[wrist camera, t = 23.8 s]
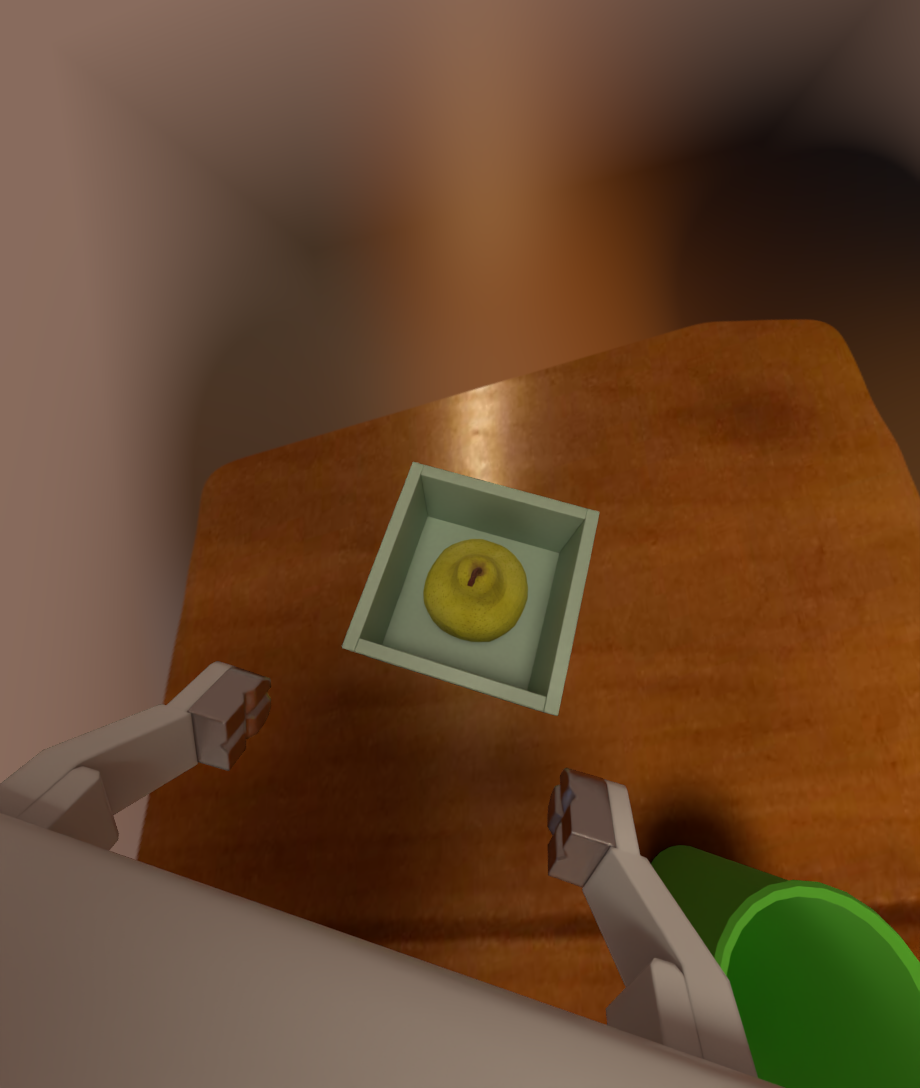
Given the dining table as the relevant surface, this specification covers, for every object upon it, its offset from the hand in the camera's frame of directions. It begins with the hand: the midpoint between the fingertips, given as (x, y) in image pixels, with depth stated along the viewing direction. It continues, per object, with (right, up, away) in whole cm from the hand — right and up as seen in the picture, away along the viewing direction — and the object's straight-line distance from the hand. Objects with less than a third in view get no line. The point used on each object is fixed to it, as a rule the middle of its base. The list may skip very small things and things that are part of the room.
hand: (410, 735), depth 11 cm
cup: (+16, -17, +15) cm, 28 cm away
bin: (+2, +1, +21) cm, 21 cm away
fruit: (+2, +1, +21) cm, 21 cm away
